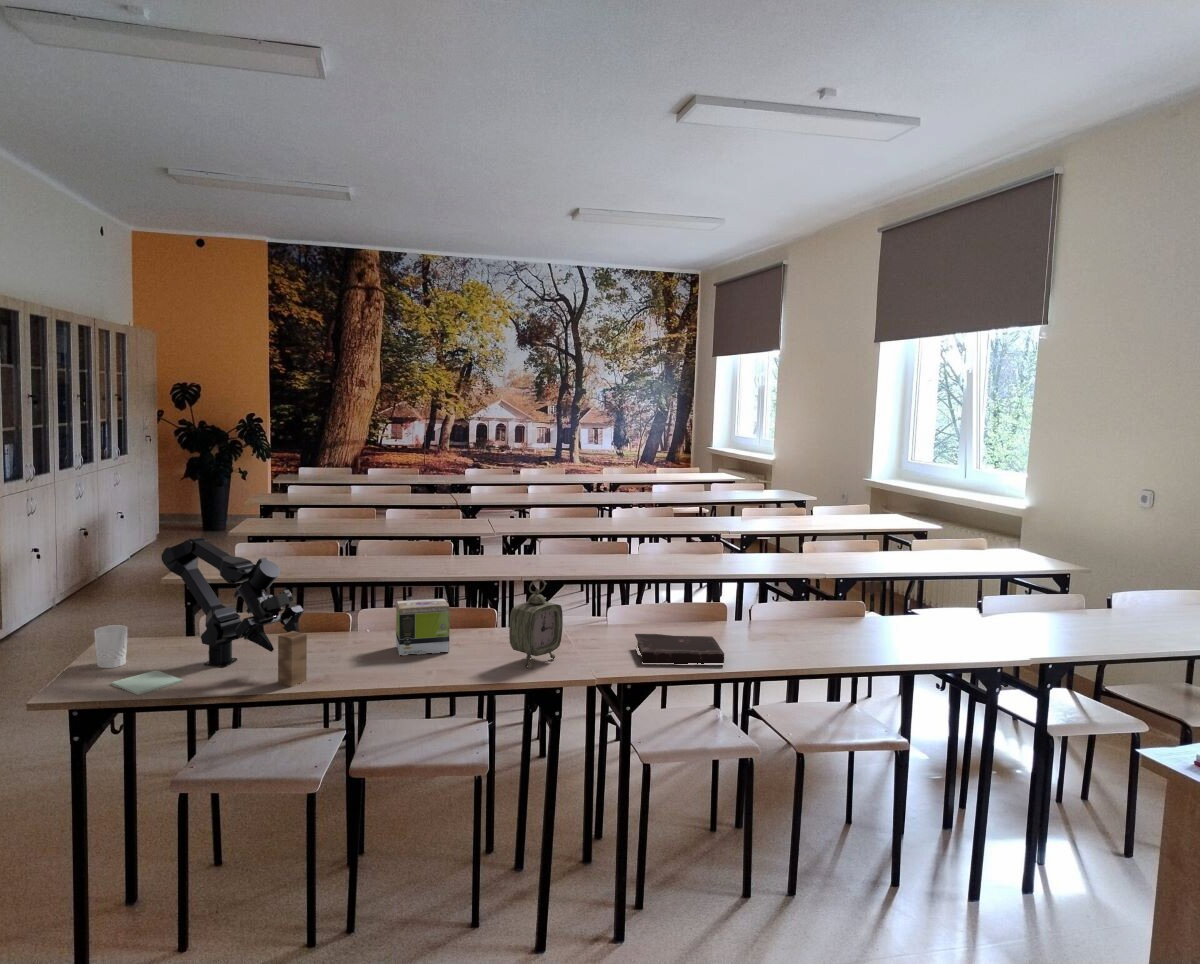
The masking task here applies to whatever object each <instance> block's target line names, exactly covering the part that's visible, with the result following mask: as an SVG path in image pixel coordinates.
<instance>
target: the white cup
mask: <svg viewBox="0 0 1200 964" xmlns="http://www.w3.org/2000/svg"><path fill="white" fill-rule="evenodd" d="M93 632H94V647H95V655H96V656H95V657H96V664H97V667H98V668H100V669H101V668H102V669H114V668H120V667H122V666H124V665H126V663H127V652H128V651H127V647H128V626H126V625H122V624H121V625H119V624H112V625H111V624H110V625H105V626H100V627H97V628H96V629H94V631H93ZM119 666H120V667H119Z"/></svg>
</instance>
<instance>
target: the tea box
mask: <svg viewBox="0 0 1200 964" xmlns="http://www.w3.org/2000/svg"><path fill="white" fill-rule="evenodd" d="M395 604H396V605H395V609H396V612H395V614H396V615H395V616H396V618H395V619H396V620H395V630H396V631H395V637H396V639H395V643H396V644H395V645H396V648H398V649H397V651H399V652H398V655H399V656H400V655H402V656H405V655H404V654H417V655H427V654H426V653H432V654H441V653H440V652H448V653H450V624H451V623H450V619H451V618H450V611H451V610H450V605H449V604H448V602H447V600H446V599H445V598H427V599H412V600H411V599H410V600H397V601H396V602H395Z"/></svg>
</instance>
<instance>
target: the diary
mask: <svg viewBox="0 0 1200 964" xmlns="http://www.w3.org/2000/svg"><path fill="white" fill-rule="evenodd" d="M634 636H635V638H636V641H637V643H636V644H637V645H636V647H637V646H638V648H639V651H640V653H641V655H642V658H641V662H643V663H674V664H688V663H697V664H698V663H701V664H704V663H724V664H725V652H724V651H723V649H722V648H721V646H720V645H719V643H718V642H717V641H716V639H715V638H714V637H713V636H711V635H710V636H709V635H707V636H706V635H670V634H669V635H668V634H660V633H659V634H658V633H634Z"/></svg>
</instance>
